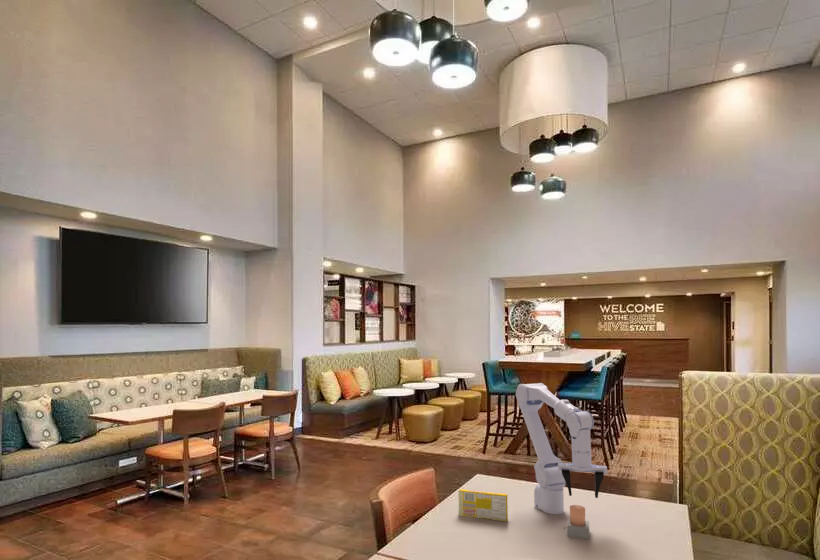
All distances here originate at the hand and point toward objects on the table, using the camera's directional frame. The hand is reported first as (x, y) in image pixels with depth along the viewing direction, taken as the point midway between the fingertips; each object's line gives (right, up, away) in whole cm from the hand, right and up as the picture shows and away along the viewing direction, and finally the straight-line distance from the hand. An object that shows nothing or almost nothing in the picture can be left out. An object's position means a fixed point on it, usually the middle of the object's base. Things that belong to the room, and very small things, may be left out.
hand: (583, 495), depth 155 cm
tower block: (-4, -9, -6) cm, 11 cm away
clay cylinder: (-4, -6, -6) cm, 9 cm away
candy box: (-30, -12, +9) cm, 33 cm away
